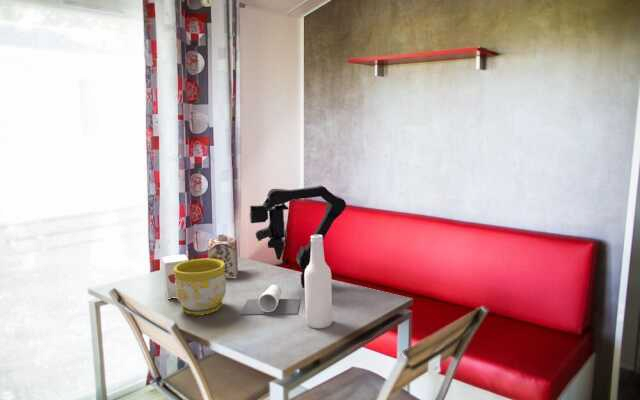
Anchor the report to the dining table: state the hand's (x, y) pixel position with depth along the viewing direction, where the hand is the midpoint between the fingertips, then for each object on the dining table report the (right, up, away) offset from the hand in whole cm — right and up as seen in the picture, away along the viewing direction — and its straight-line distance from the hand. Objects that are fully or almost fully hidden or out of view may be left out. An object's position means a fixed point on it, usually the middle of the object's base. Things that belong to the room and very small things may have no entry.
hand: (278, 259), depth 196 cm
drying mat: (-1, -15, -17) cm, 23 cm away
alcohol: (+16, -18, -33) cm, 40 cm away
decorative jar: (-26, -10, +21) cm, 35 cm away
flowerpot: (-26, -16, -17) cm, 35 cm away
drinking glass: (-1, -11, -9) cm, 14 cm away
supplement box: (-40, -14, -2) cm, 42 cm away
